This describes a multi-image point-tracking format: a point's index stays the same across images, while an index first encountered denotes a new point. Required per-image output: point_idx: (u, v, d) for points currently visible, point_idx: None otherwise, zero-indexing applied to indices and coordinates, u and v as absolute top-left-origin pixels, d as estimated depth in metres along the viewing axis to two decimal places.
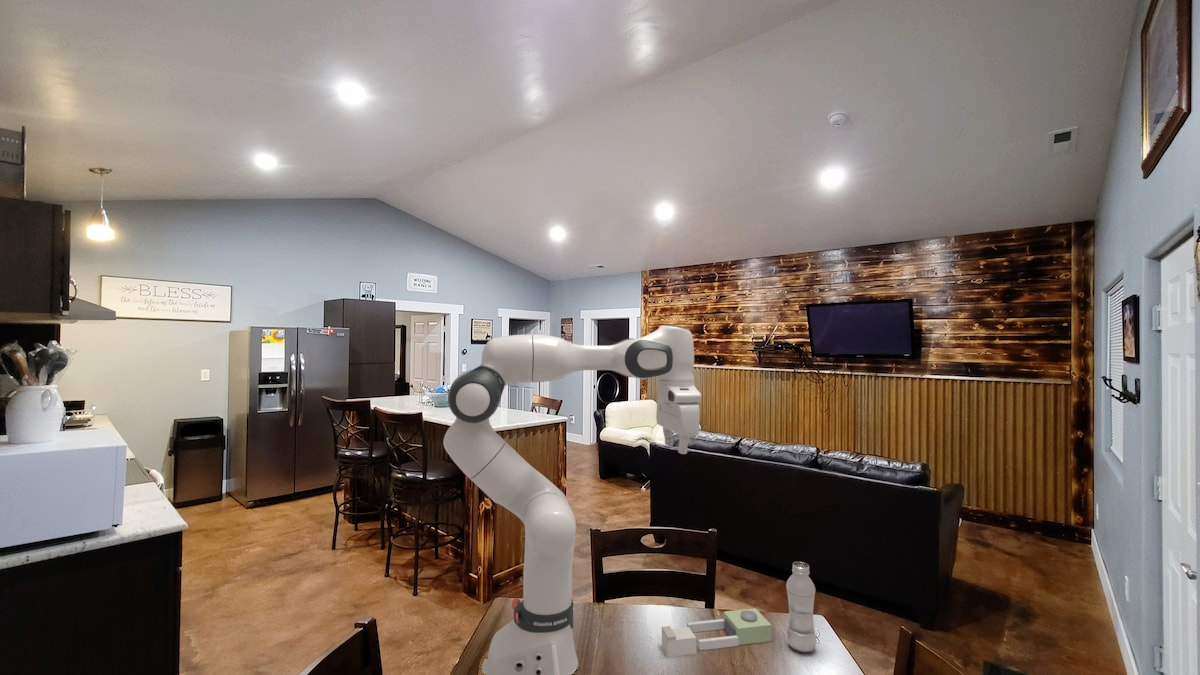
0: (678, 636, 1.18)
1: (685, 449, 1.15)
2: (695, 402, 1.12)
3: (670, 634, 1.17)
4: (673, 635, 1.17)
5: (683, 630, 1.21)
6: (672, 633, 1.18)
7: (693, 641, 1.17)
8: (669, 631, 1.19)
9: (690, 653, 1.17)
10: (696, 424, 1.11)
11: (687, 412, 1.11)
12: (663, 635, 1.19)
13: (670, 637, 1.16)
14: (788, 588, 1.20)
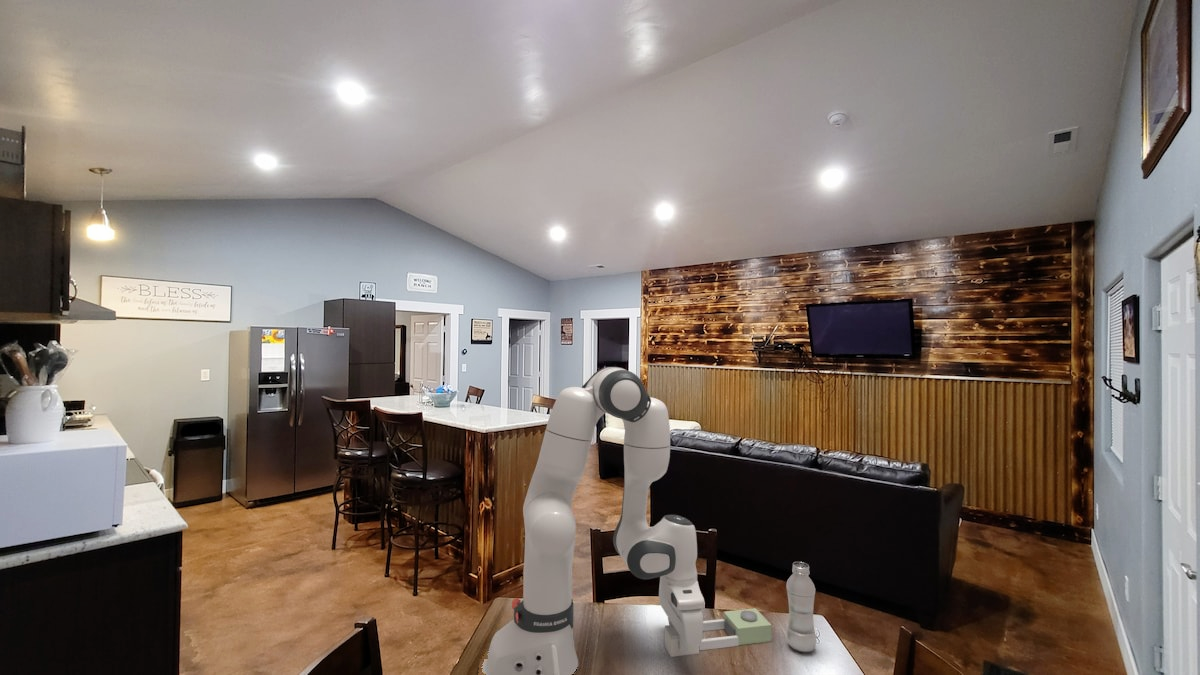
0: None
1: (685, 647, 1.16)
2: (698, 608, 1.12)
3: (673, 633, 1.18)
4: (676, 634, 1.17)
5: None
6: (675, 632, 1.18)
7: None
8: (672, 630, 1.19)
9: (693, 652, 1.17)
10: (699, 634, 1.10)
11: (690, 621, 1.10)
12: (666, 634, 1.20)
13: (673, 636, 1.17)
14: (788, 588, 1.20)
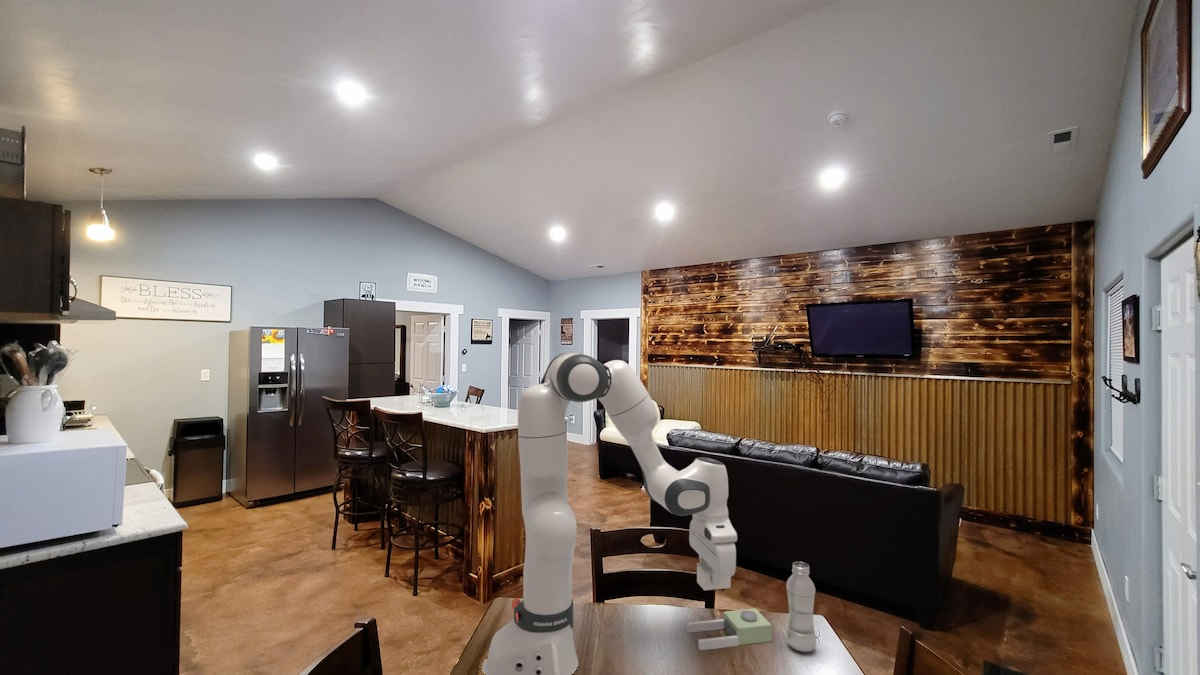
0: None
1: (718, 581, 1.21)
2: (731, 542, 1.17)
3: (706, 568, 1.23)
4: (709, 569, 1.22)
5: None
6: (708, 567, 1.23)
7: None
8: (705, 566, 1.24)
9: (725, 586, 1.23)
10: (733, 565, 1.15)
11: (724, 553, 1.15)
12: (699, 570, 1.25)
13: (706, 570, 1.22)
14: (788, 588, 1.20)
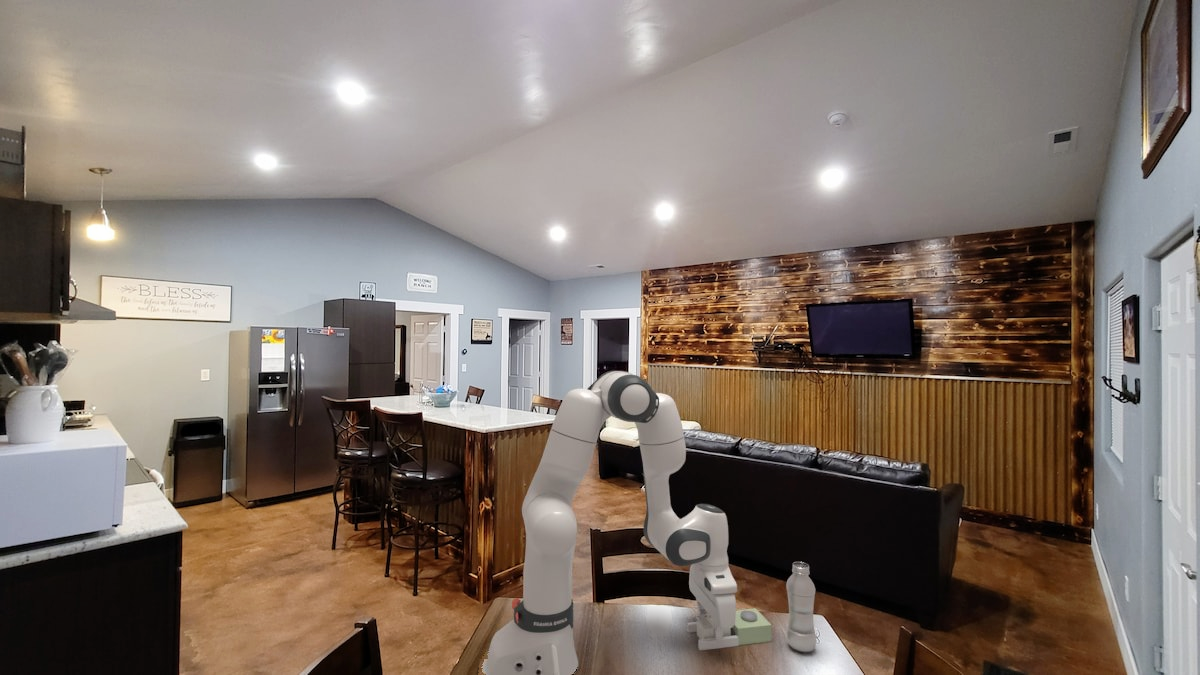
0: (713, 624, 1.23)
1: (721, 634, 1.19)
2: (731, 592, 1.16)
3: (706, 623, 1.22)
4: (709, 624, 1.22)
5: None
6: (707, 622, 1.23)
7: (728, 629, 1.22)
8: (704, 620, 1.24)
9: None
10: (732, 617, 1.15)
11: (724, 605, 1.15)
12: (698, 624, 1.24)
13: (706, 625, 1.21)
14: (788, 588, 1.20)
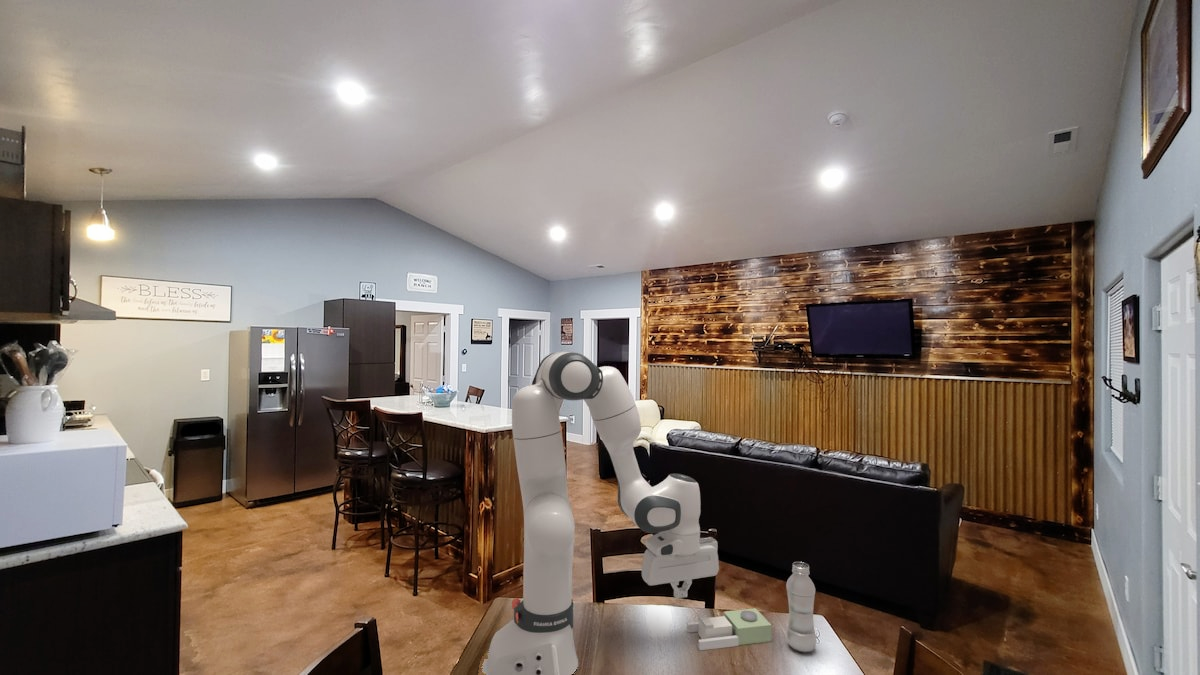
0: (715, 624, 1.23)
1: (676, 594, 1.22)
2: (654, 553, 1.19)
3: (708, 623, 1.22)
4: (710, 623, 1.22)
5: (719, 619, 1.26)
6: (709, 621, 1.23)
7: (729, 629, 1.23)
8: (706, 619, 1.24)
9: None
10: (647, 574, 1.19)
11: (645, 559, 1.20)
12: (700, 624, 1.24)
13: (708, 625, 1.22)
14: (788, 588, 1.20)
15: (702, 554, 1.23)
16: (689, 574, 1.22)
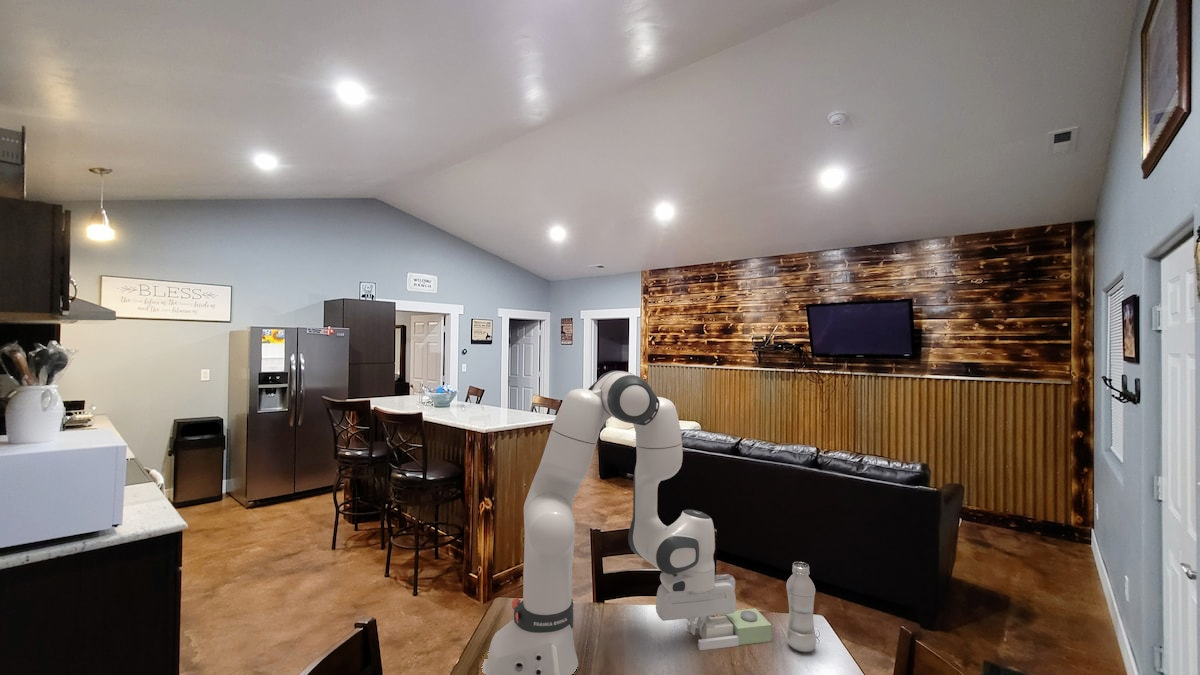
0: (716, 624, 1.23)
1: (692, 630, 1.23)
2: (667, 589, 1.20)
3: (708, 622, 1.23)
4: (711, 623, 1.22)
5: (720, 619, 1.26)
6: (710, 621, 1.23)
7: (730, 628, 1.23)
8: (707, 619, 1.24)
9: None
10: (659, 609, 1.20)
11: (659, 594, 1.22)
12: None
13: (709, 625, 1.22)
14: (788, 588, 1.20)
15: (718, 591, 1.23)
16: (704, 611, 1.22)
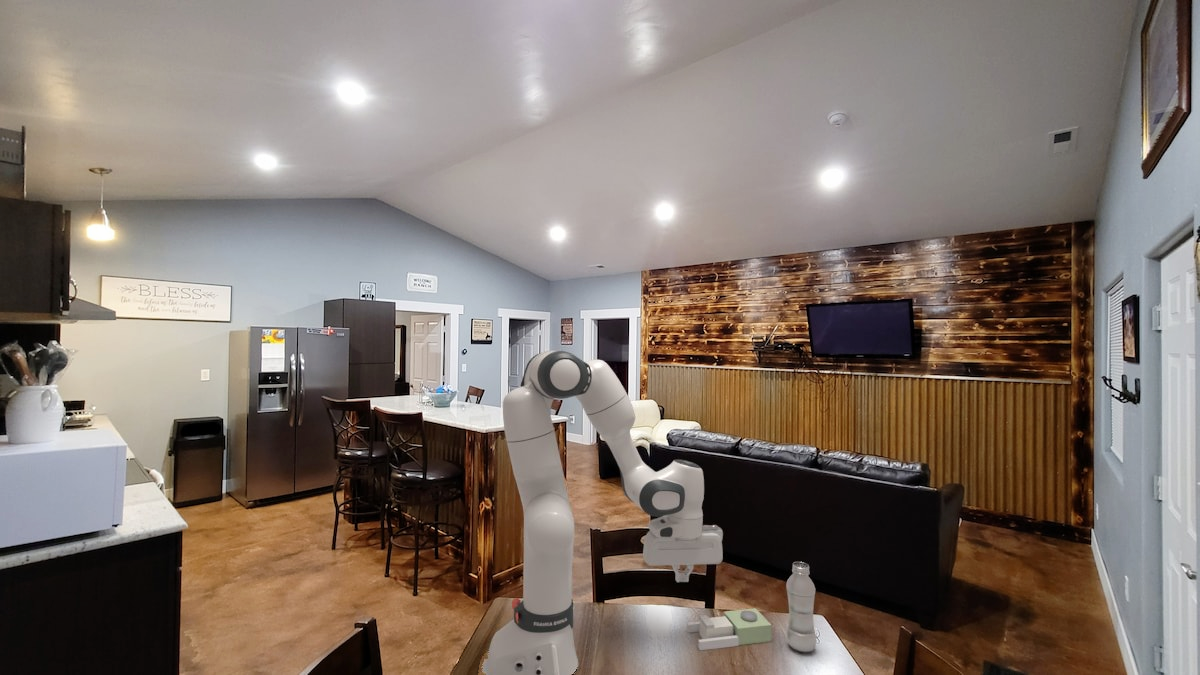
0: (716, 624, 1.23)
1: (677, 577, 1.24)
2: (654, 535, 1.22)
3: (708, 623, 1.23)
4: (711, 623, 1.22)
5: (720, 619, 1.26)
6: (710, 621, 1.23)
7: (730, 629, 1.23)
8: (707, 619, 1.24)
9: None
10: (646, 554, 1.22)
11: (646, 540, 1.24)
12: (701, 624, 1.25)
13: (709, 625, 1.22)
14: (788, 588, 1.20)
15: (705, 541, 1.24)
16: (690, 559, 1.23)
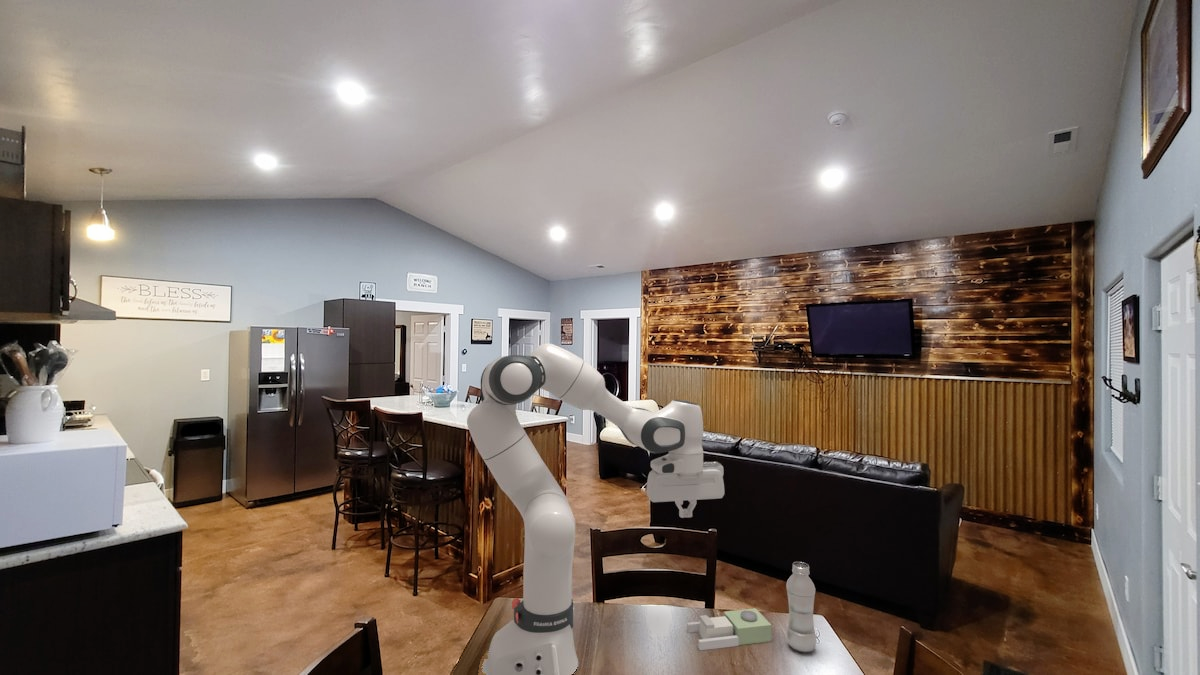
0: (716, 624, 1.23)
1: (680, 513, 1.27)
2: (656, 472, 1.24)
3: (708, 622, 1.23)
4: (711, 623, 1.22)
5: (720, 619, 1.26)
6: (710, 621, 1.23)
7: (730, 629, 1.23)
8: (707, 619, 1.24)
9: None
10: (650, 491, 1.24)
11: (649, 478, 1.26)
12: (701, 623, 1.25)
13: (709, 625, 1.22)
14: (788, 588, 1.20)
15: (706, 476, 1.27)
16: (693, 494, 1.26)
